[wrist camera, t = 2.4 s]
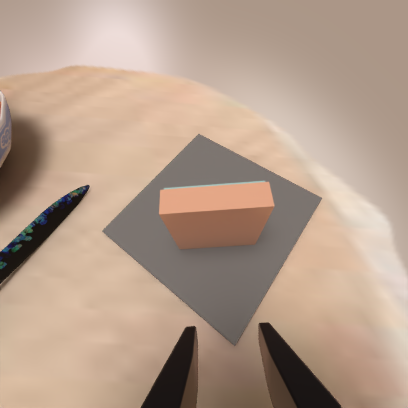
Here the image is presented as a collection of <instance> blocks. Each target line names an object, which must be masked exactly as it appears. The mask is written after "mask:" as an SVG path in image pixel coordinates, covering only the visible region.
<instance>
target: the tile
mask: <svg viewBox="0 0 408 408" xmlns="http://www.w3.org/2000/svg"><path fill="white" fill-rule="evenodd" d="M273 208H274V202H273V197H272V193H271V188H270V184H269V182H265V181H253V182H240V183H226V184H213V185H199V186H186V187H172V188H164V190H160V204H159V215H160V217H161V219H162V220H163V222H164V224H165V225H166V227H167V229H168V230H169V232H170V234H171V236H172V237H173V239H174V241H175V242H176V244H177V246H178V247H179V249H195V248H210V247H226V246H241V245H255V244H256V242H257V240H258V238H259V236H260V234H261V232H262V230H263V228H264V226H265V224H266V222H267V220H268V218H269V216H270V214H271V212H272V210H273Z"/></svg>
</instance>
